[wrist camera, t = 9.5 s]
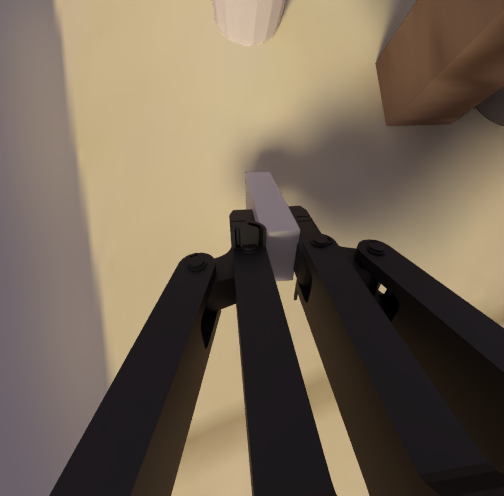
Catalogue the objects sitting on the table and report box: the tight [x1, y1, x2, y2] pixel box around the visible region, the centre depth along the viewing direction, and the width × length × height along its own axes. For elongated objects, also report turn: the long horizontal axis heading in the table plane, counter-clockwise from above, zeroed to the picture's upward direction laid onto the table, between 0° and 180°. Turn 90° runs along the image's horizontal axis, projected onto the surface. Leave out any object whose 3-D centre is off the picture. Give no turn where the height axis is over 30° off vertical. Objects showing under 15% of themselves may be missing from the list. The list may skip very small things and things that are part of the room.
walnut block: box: [376, 0, 504, 126], centre depth 15 cm, size 6×6×10 cm
